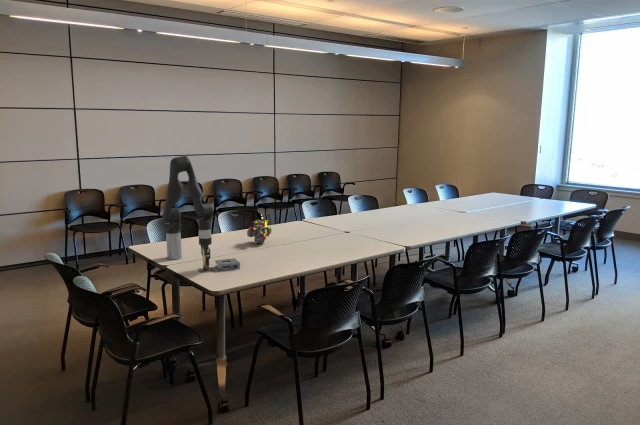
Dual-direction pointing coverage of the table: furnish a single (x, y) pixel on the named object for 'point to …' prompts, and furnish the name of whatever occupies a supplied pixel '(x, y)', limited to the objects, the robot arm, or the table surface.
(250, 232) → the molecule model
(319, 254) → the table surface
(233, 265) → the grey flat block
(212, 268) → the rubber mat
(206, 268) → the brass pin
